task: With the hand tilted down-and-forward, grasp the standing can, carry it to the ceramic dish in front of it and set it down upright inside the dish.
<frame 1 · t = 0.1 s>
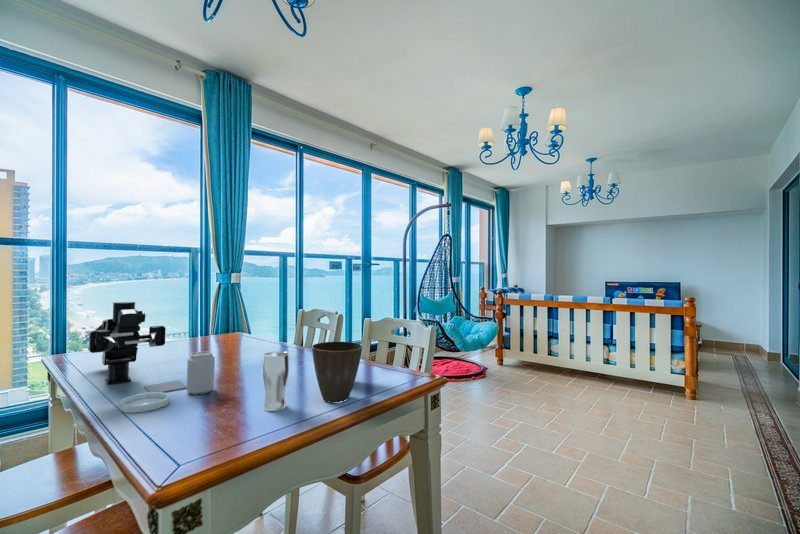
hand: (134, 342, 109), 17 cm above the table, tool horizontal, fingers open, 9 cm apart
beer glass: (274, 408, 105), on the table
plant pot: (336, 399, 113), on the table
dish: (145, 405, 105), on the table
can: (200, 392, 118), on the table
mat: (165, 387, 121), on the table
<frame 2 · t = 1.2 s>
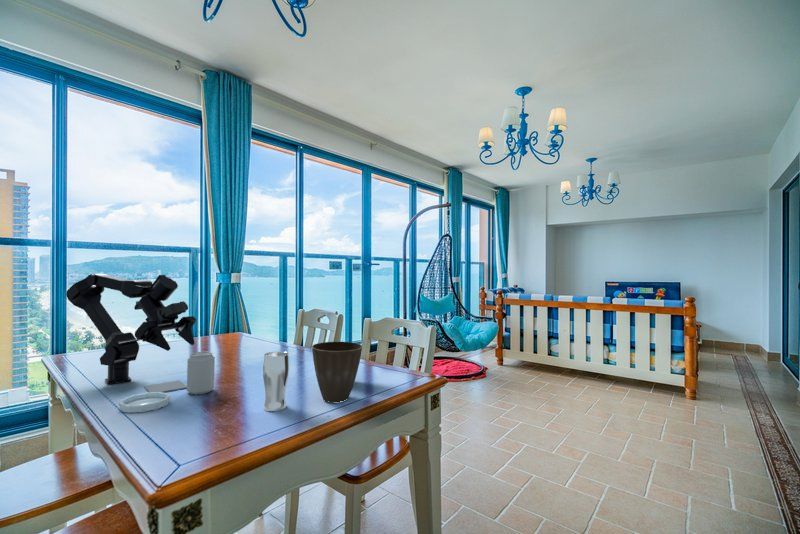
hand: (181, 346, 120), 13 cm above the table, tool tilted 45°, fingers open, 9 cm apart
nothing on the table moved.
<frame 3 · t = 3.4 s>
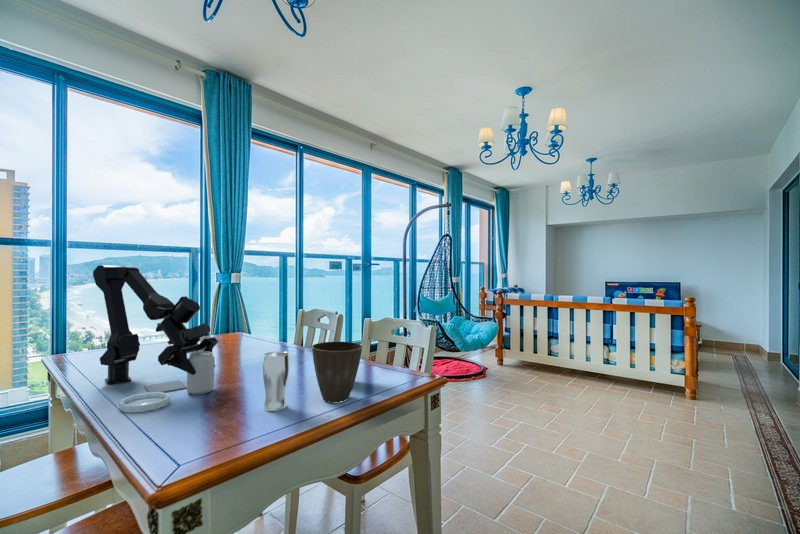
hand: (204, 370, 117), 7 cm above the table, tool tilted 45°, fingers closed on can, 7 cm apart
can: (200, 392, 118), on the table, touching gripper
everything else where it was.
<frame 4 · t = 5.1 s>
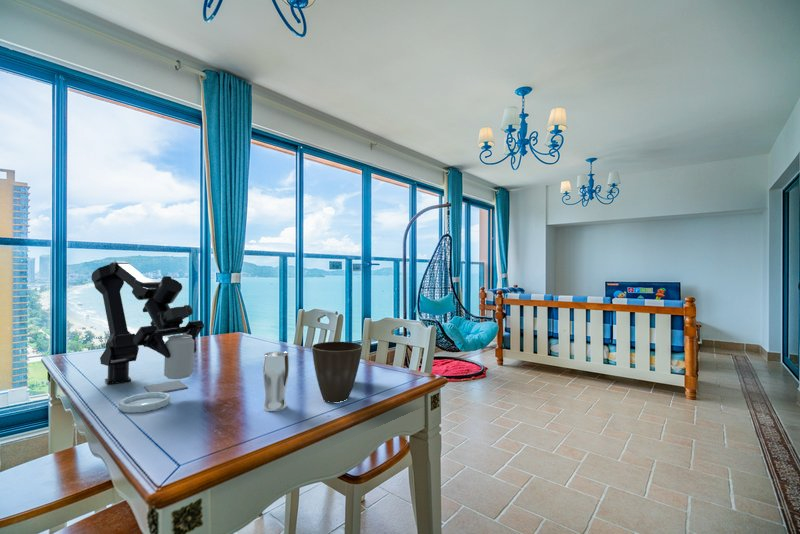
hand: (182, 354, 111), 13 cm above the table, tool tilted 45°, fingers closed on can, 7 cm apart
can: (178, 377, 112), point 6 cm above the table, touching gripper
everything else where it was.
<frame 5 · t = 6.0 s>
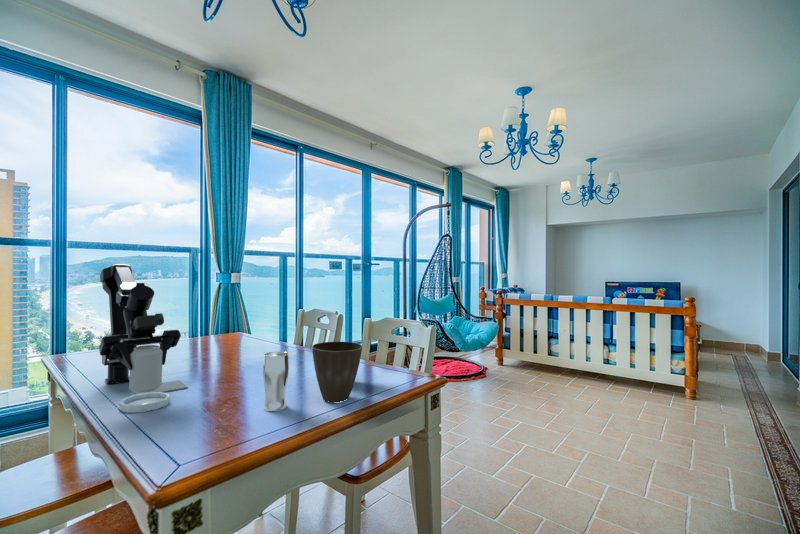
hand: (147, 366, 104), 11 cm above the table, tool tilted 45°, fingers closed on can, 7 cm apart
can: (145, 390, 105), point 4 cm above the table, touching gripper
everything else where it was.
when the fingers open (8 cm above the table, at t = 7.0 s): can stays where it is, resting on dish.
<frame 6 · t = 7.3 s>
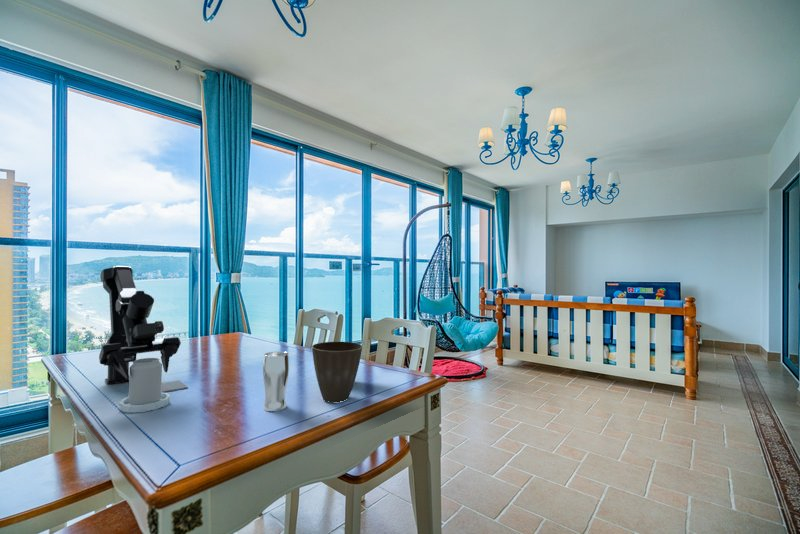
hand: (147, 374, 104), 9 cm above the table, tool tilted 45°, fingers open, 9 cm apart
can: (145, 403, 105), resting on dish
everything else where it was.
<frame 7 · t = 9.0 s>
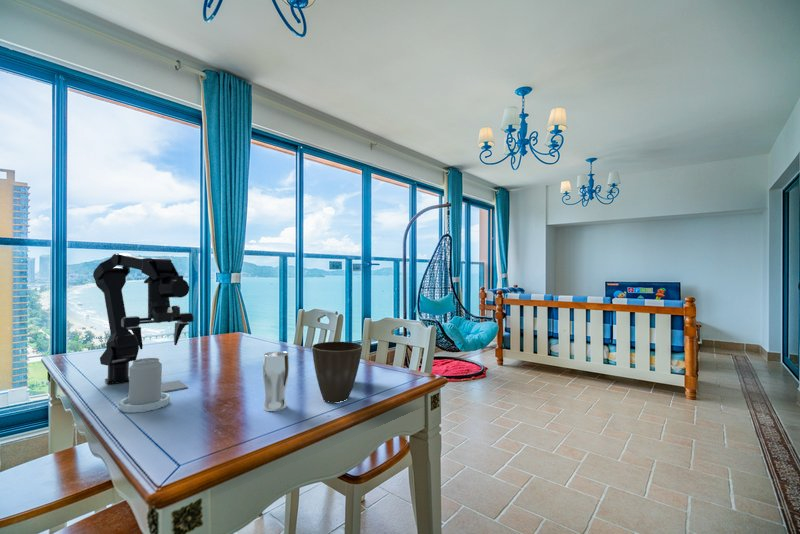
hand: (158, 347, 119), 13 cm above the table, tool pointing down, fingers open, 9 cm apart
nothing on the table moved.
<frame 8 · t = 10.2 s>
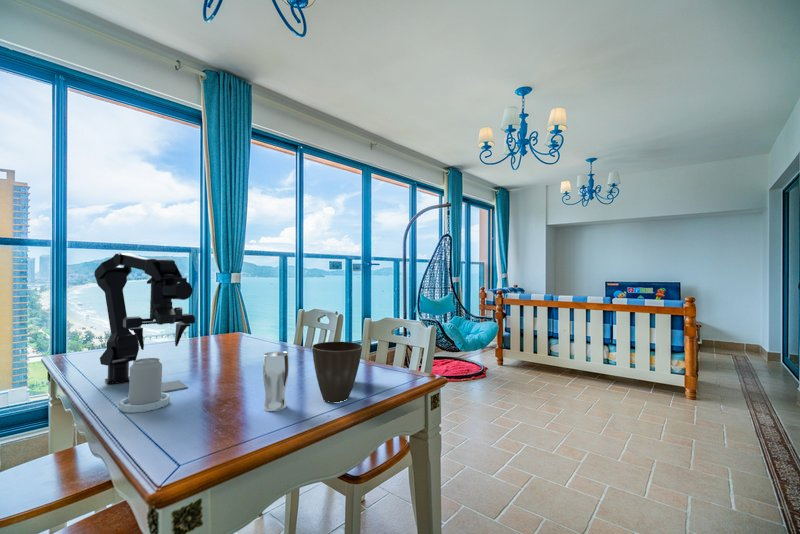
hand: (159, 347, 119), 13 cm above the table, tool pointing down, fingers open, 9 cm apart
nothing on the table moved.
at the end: can 0.2 cm off-centre on the dish, point 0.4 cm above the dish's base; can tilted 0°; the gripper is holding nothing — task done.
